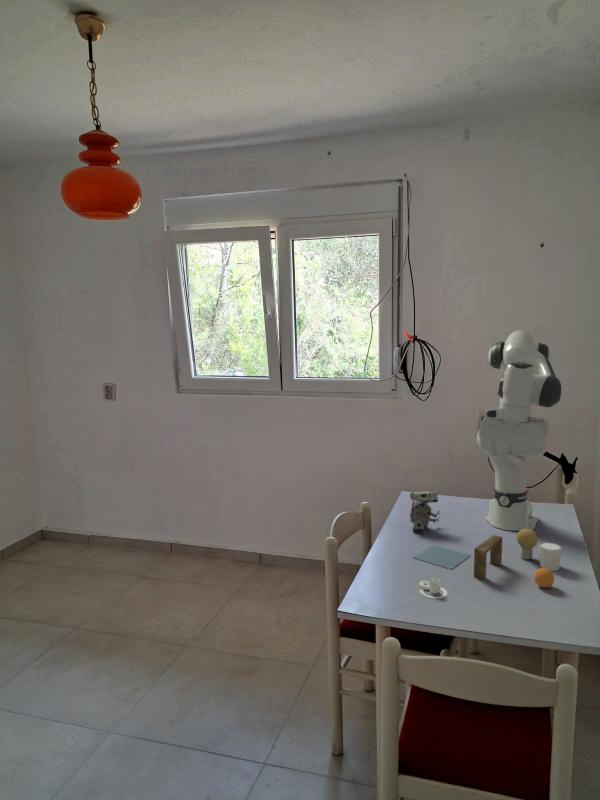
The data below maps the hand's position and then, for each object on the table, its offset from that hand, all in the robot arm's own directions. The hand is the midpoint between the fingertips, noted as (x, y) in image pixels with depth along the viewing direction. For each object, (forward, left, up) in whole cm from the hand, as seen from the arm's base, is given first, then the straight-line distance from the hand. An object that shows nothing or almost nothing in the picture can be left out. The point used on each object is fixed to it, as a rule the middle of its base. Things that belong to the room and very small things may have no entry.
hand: (509, 459), depth 167 cm
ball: (+4, +13, -34) cm, 36 cm away
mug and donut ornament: (+24, -11, -37) cm, 46 cm away
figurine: (-15, -37, -37) cm, 55 cm away
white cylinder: (-11, +10, -37) cm, 40 cm away
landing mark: (+4, -20, -36) cm, 42 cm away
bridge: (+4, -4, -36) cm, 37 cm away
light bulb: (-13, +2, -37) cm, 39 cm away
